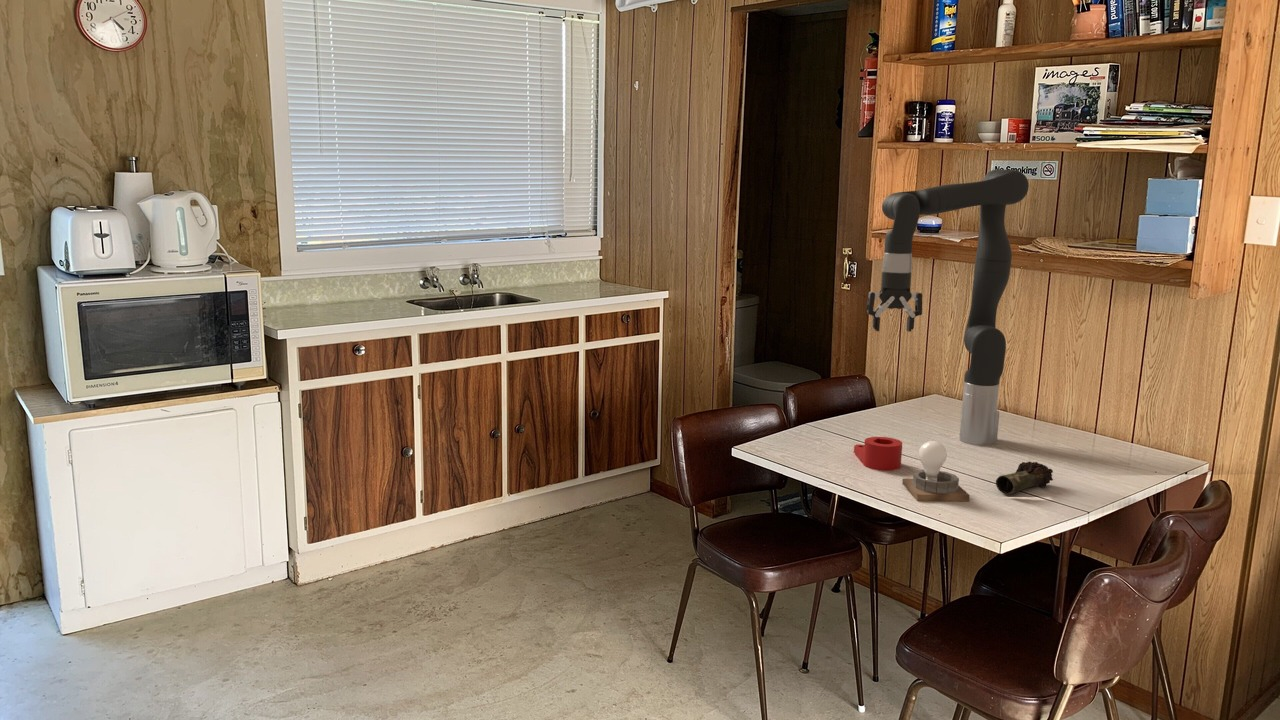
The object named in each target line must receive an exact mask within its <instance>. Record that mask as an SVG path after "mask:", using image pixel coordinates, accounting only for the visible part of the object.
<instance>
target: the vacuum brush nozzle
mask: <svg viewBox="0 0 1280 720" xmlns="http://www.w3.org/2000/svg"><path fill="white" fill-rule="evenodd" d="M1053 473H1054V470H1053V469H1052V468H1049V467H1048V466H1047V465H1044V464H1043V463H1039V462H1038V461H1033V462H1032V461H1027V462H1025V461H1022V462H1021V463H1019V464H1018V468H1017V469H1016V471H1015V472H1011V473H1008V474H1007V473H1006V474H1003V475H1000V476H998V477H997V478H996V480H995V485H996V488H997V489H998V491H999V492H1000V493H1002V494H1004V495H1006V496H1008V495H1011V494H1013V493H1016V492H1020V491H1023V490H1025V489H1029V488H1031V487H1041V488H1046V487H1047V485H1048V484H1050V483H1051V481H1054V479H1053V477H1052V476H1053Z"/></svg>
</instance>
